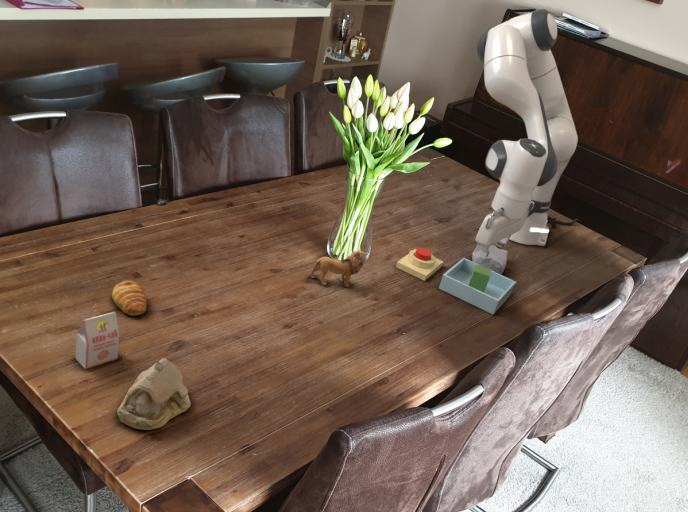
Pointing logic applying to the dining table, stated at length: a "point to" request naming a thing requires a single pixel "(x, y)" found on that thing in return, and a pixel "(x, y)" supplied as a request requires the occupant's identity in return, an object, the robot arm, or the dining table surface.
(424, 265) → the button housing
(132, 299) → the pastry
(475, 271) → the green block
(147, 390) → the ceramic model
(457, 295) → the basin
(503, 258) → the stone block
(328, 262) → the lion figurine
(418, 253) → the button
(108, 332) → the tea bag
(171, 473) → the dining table surface
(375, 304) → the dining table surface
